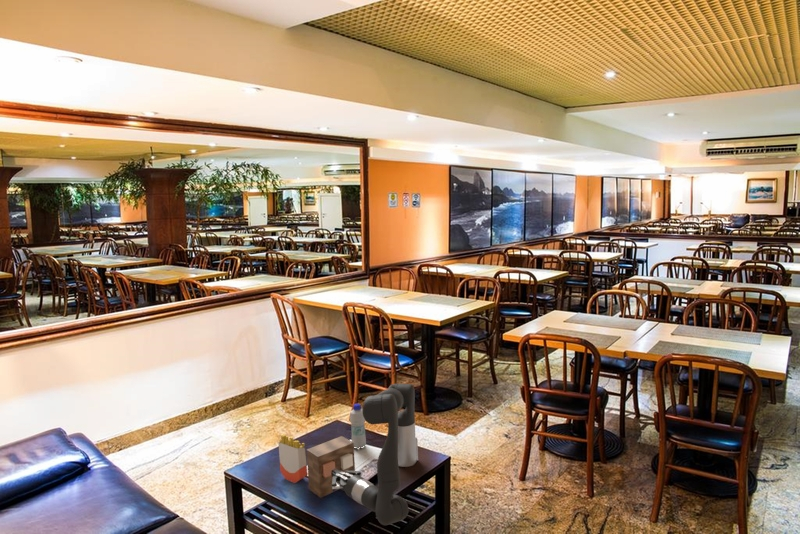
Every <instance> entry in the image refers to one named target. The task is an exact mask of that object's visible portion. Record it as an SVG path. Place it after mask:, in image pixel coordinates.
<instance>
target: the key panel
mask: <svg viewBox="0 0 800 534" xmlns="http://www.w3.org/2000/svg"><path fill="white" fill-rule="evenodd" d="M348 453H350V454H352V455H353V466H351V467H349V468H347V469H344V470H343V469H341V468H340V457H341V456H343V455H345V454H348ZM331 460H332V461H334V462H335V469H336V470H339V471H341V472H345V471H347V470H348V471H356V465H355V464H356V463H355V461H356V459H355V449H354V443H353V442H352V440H349V439H348V438H346V437H344V436H342V435H340V436H339V437H335V438H333V439H331V440H328V441H326V442H322V443H321V444H318V445H315V446H312V447H309V448H307V449H306V463H307V477H308V490H309V491H310V492H312V493H313V494H315V496H318V497H319V498H320V499H321V498H323V497H325V496H328V495H330V494H332V493H334V492H336V491H338V490H340V489H336V490H335V491H332V480H333V477H332V476H328V477H326V478H325V477H324V476H322V464H324V463H326V462H329V461H331ZM337 483H338V485H339V482H337Z"/></svg>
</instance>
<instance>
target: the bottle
mask: <svg viewBox="0 0 800 534" xmlns="http://www.w3.org/2000/svg"><path fill="white" fill-rule="evenodd" d="M352 408H353V409H352V410H351V411H350V416H349V420H350V421H349V422H350V427H351V428H350V429H351V441H352V442H353V443H354V447H357V448H359V447H360V448H361V447H363V446H365V445H367V439H366V438H367V437H366V427H365V425H366V424H365V423H366V420H365V419H364V417H363V413H362V406H361V404H360V403H354V404H353V407H352ZM365 447H366V446H365ZM357 448H356V449H357Z"/></svg>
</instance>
